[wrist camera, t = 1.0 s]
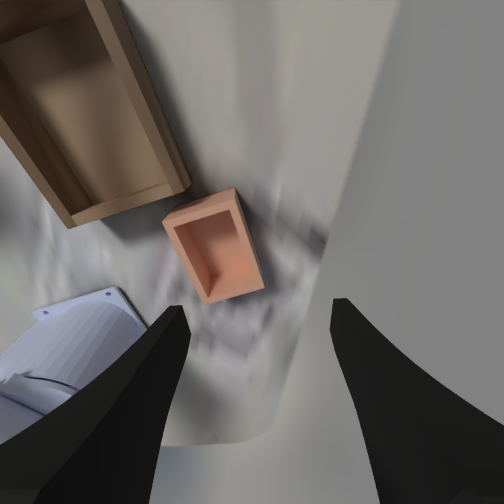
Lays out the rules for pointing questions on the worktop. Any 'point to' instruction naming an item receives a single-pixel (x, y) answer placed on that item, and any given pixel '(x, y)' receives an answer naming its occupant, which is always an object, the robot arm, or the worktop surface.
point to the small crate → (215, 246)
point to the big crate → (83, 109)
